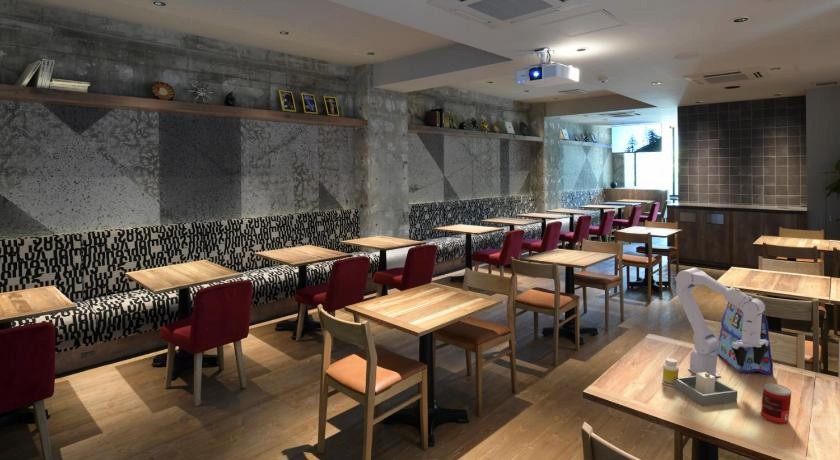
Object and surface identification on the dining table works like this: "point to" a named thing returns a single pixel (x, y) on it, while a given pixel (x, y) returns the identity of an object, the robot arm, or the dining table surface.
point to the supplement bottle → (670, 371)
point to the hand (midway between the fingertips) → (748, 364)
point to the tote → (718, 397)
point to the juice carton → (705, 383)
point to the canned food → (776, 403)
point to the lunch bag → (733, 333)
